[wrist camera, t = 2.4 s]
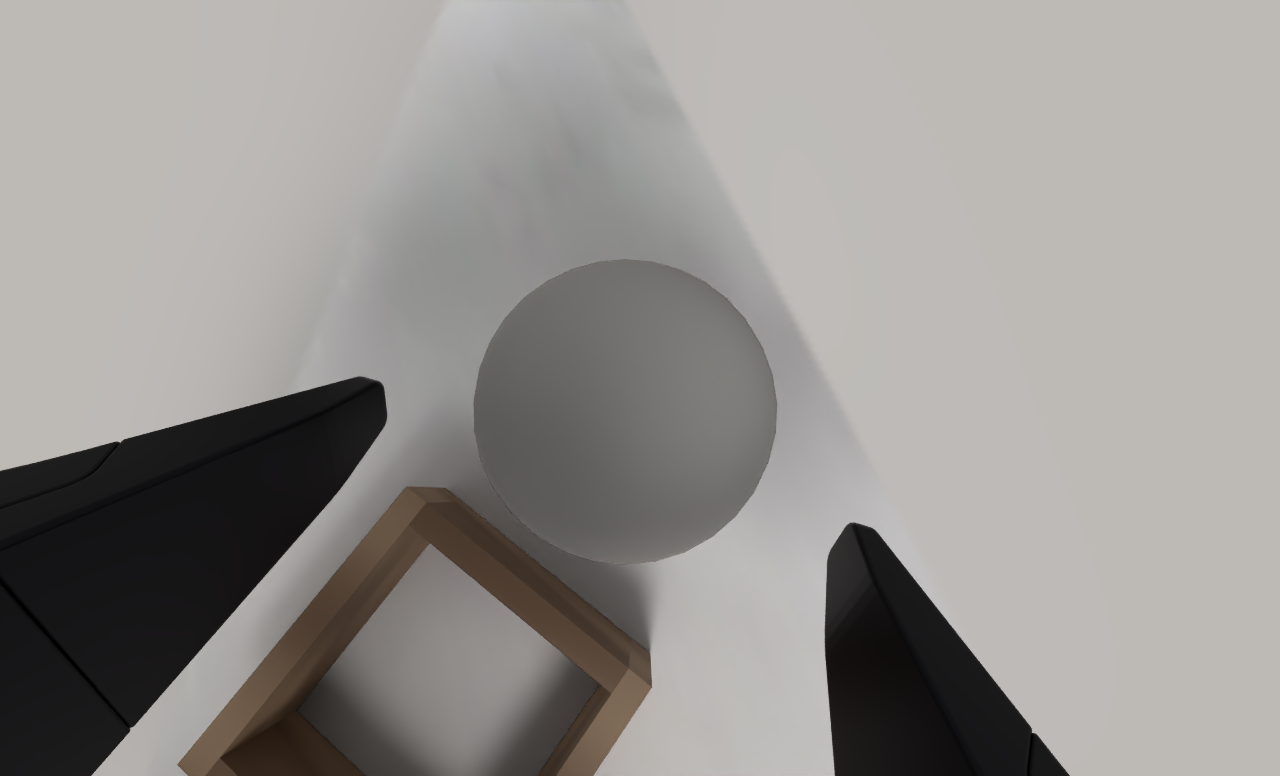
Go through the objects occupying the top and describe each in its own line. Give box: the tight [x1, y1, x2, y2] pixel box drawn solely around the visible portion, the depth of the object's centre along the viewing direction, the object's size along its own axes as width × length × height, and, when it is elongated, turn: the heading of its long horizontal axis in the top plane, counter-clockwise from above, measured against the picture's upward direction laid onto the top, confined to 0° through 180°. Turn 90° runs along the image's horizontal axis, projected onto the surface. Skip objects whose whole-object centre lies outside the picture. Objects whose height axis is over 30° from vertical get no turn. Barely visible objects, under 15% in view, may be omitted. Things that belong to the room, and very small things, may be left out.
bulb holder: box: [178, 487, 652, 776], centre depth 15 cm, size 9×9×3 cm
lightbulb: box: [474, 260, 777, 564], centre depth 13 cm, size 6×6×11 cm
